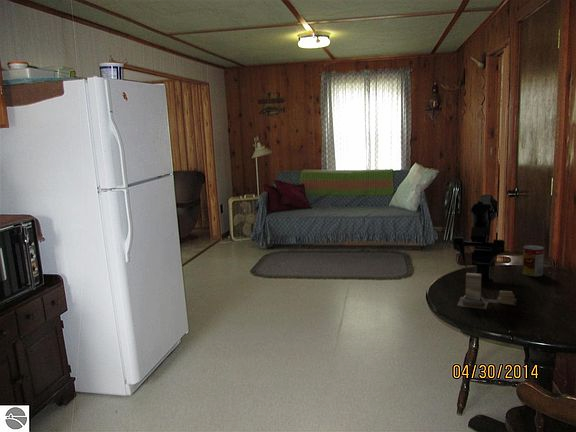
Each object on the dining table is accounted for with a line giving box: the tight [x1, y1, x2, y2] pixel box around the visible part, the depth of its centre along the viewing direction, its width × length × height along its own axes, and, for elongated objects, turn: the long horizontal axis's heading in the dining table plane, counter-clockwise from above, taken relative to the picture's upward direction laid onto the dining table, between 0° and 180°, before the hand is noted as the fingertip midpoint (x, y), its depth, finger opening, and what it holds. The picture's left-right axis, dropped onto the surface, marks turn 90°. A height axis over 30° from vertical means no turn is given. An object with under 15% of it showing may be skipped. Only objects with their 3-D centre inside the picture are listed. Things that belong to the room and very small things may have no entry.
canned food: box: [522, 244, 545, 277], centre depth 204 cm, size 8×8×12 cm
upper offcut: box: [498, 290, 515, 300], centre depth 174 cm, size 5×4×2 cm
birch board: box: [465, 272, 482, 301], centre depth 173 cm, size 3×5×11 cm, turn 62°
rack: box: [456, 294, 517, 310], centre depth 174 cm, size 14×19×3 cm
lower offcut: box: [498, 294, 514, 305], centre depth 174 cm, size 6×5×2 cm
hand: (476, 263), depth 179 cm, fingers open, 9 cm apart
